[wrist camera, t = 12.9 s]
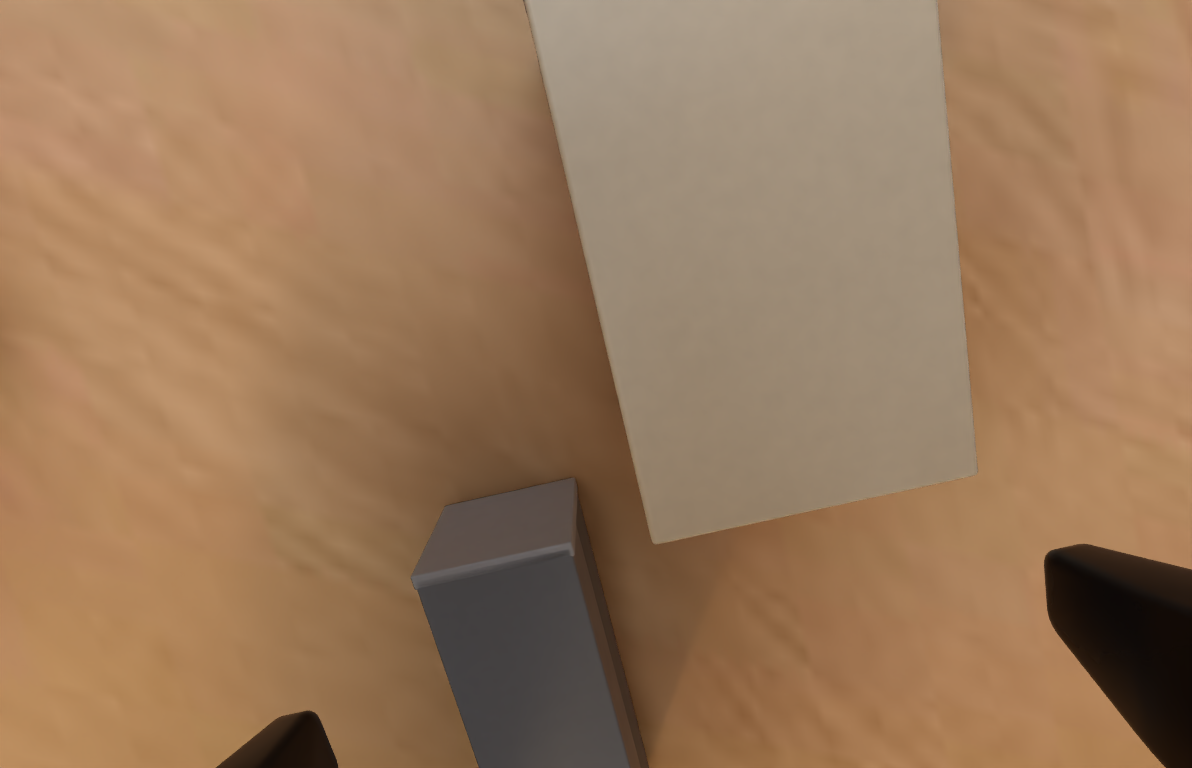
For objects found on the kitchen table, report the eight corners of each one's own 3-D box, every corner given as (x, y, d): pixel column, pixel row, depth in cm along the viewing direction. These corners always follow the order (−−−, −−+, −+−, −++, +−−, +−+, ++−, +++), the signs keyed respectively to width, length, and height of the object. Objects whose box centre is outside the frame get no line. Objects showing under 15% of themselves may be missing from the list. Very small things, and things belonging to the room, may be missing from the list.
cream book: (640, 490, 14) (650, 547, 12) (522, -10, 12) (504, -67, 9) (915, 430, 14) (983, 476, 12) (856, -97, 11) (928, -180, 9)
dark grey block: (536, 788, 23) (524, 907, 19) (444, 505, 20) (409, 577, 16) (650, 765, 22) (663, 881, 19) (575, 476, 20) (571, 542, 16)
